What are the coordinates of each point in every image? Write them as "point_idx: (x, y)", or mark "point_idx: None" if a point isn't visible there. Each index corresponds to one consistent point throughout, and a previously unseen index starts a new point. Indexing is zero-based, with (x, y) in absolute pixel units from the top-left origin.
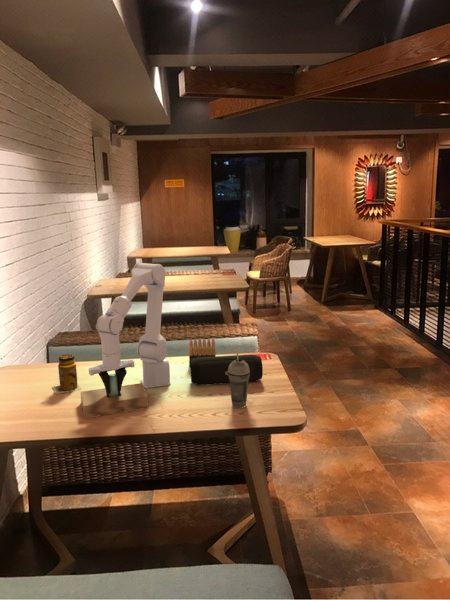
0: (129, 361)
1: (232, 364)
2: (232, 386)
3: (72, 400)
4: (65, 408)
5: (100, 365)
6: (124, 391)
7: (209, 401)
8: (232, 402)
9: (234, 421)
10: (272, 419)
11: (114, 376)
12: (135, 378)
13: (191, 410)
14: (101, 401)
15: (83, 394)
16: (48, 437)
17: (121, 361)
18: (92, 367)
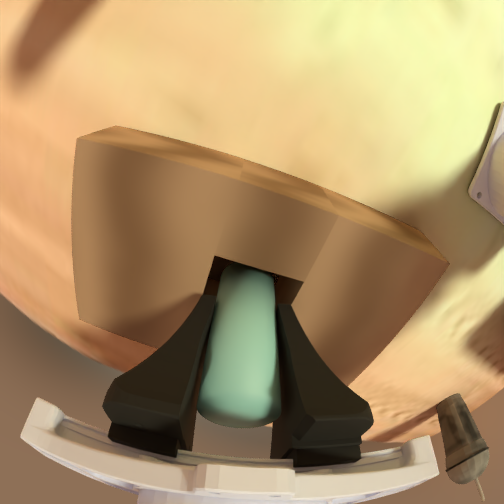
0: (397, 490)
1: (461, 480)
2: (446, 444)
3: (93, 67)
4: (49, 149)
5: (118, 473)
6: (316, 308)
7: (450, 376)
8: (441, 411)
9: (387, 432)
10: (417, 435)
11: (242, 427)
12: (498, 52)
13: (392, 395)
14: (154, 333)
15: (83, 193)
16: (26, 311)
17: (370, 490)
18: (46, 452)
